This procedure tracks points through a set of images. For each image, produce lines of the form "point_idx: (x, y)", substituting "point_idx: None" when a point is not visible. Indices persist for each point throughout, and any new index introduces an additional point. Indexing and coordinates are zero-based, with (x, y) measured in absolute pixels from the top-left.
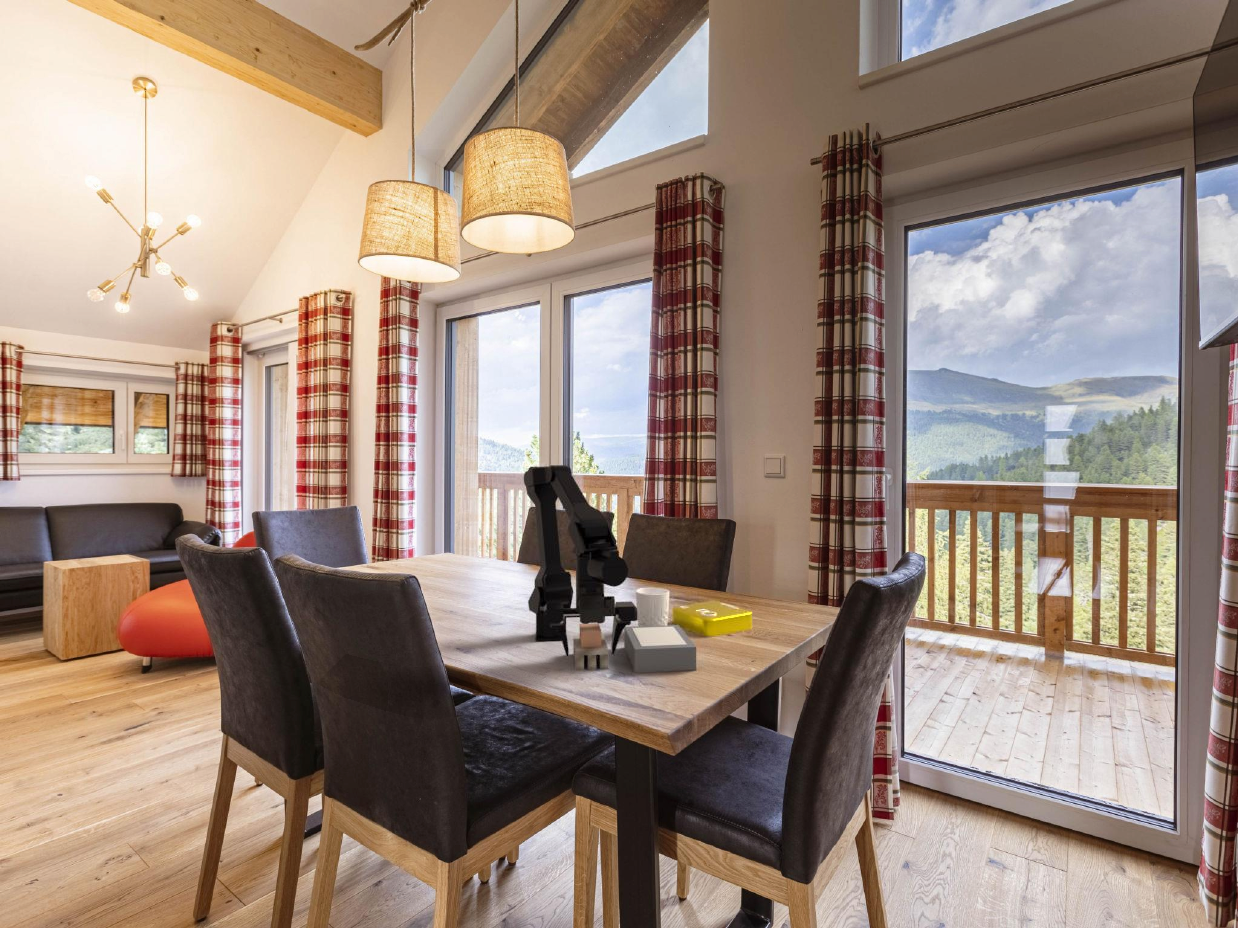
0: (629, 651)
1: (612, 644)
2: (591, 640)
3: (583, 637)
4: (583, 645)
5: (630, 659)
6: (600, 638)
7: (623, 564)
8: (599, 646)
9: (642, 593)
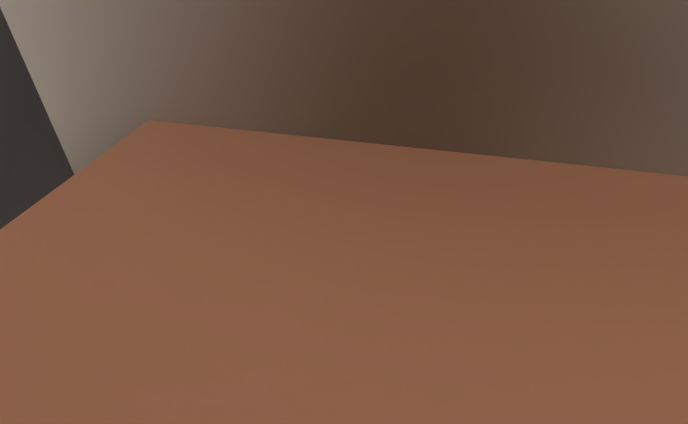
0: (2, 178)
1: None
2: (289, 250)
3: (569, 420)
4: (605, 194)
5: (17, 68)
6: (21, 235)
7: None
8: (185, 115)
9: None
